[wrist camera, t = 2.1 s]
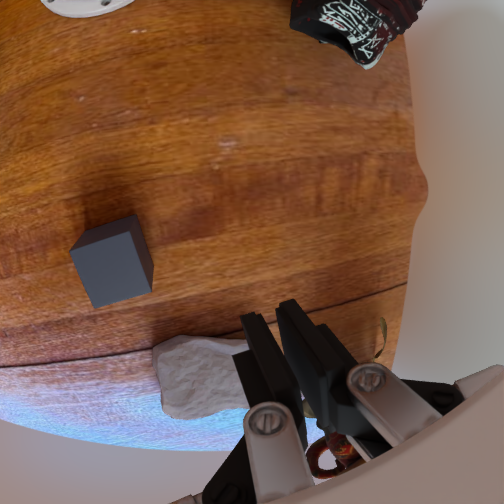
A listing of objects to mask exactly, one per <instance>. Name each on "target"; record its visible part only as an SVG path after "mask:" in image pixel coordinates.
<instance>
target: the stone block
mask: <svg viewBox="0 0 504 504" xmlns="http://www.w3.org/2000/svg"><path fill="white" fill-rule="evenodd" d="M246 350H249V347H248V344H247V340H246V339H244V340H241V339H225V338H223V339H222V338H215V337H204V336H188V335H178V336H175V337H173V338H172V339H169V340H167V341H165V342H162V343H160V344H158V345H156V346H155V347H153V352H152V353H153V359H152V365H153V367H154V369H155V371H156V375H157V377H158V380H159V384H160V387H161V405H162V410H163V412H164V413H165V414H167V415H169V416H170V417H171V418H175V419H183V420H190V419H197V418H203V417H206V416H210V415H212V414H214V413H217V412H219V411H222V410H226V409H235V408H245V409H250V407H249V404H248V401H247V398H246V396H245V393H244V390H243V387H242V384H241V381H240V378H239V376H238V373H237V370H236V367H235V364H234V361H233V358H232V355H234V354H237V353H240V352H243V351H246Z"/></svg>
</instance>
